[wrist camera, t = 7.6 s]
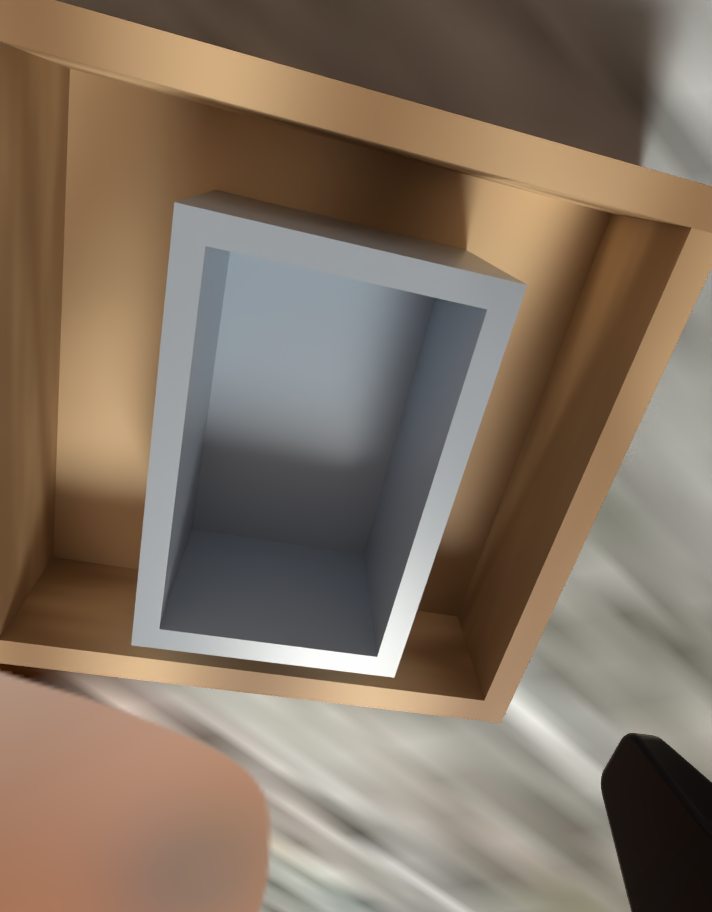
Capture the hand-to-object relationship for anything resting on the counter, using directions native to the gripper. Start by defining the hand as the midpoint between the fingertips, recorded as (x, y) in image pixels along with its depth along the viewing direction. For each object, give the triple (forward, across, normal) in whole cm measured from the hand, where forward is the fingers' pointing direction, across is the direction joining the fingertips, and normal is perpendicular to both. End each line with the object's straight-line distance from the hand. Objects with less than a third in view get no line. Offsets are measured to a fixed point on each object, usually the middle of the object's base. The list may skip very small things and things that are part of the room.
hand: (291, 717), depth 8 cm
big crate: (+12, 0, 0) cm, 12 cm away
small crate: (+11, 0, 0) cm, 11 cm away
